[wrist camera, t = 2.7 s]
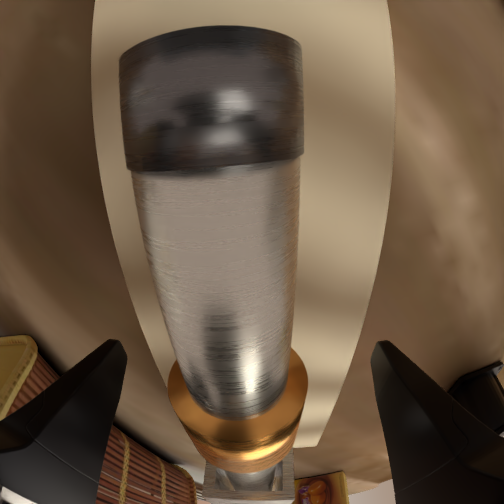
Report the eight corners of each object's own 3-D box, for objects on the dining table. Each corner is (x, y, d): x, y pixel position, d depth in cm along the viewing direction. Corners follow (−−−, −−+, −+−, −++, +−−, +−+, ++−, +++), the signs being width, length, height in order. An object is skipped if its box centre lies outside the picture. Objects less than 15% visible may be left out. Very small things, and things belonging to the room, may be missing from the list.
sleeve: (281, 444, 18) (282, 514, 12) (231, 444, 18) (225, 513, 12) (289, 389, 13) (294, 499, 8) (216, 388, 14) (201, 496, 8)
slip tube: (278, 471, 15) (278, 510, 12) (231, 470, 15) (228, 509, 12) (311, 71, 4) (379, 18, 1) (145, 83, 5) (29, 70, 2)
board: (315, 436, 19) (316, 446, 18) (199, 435, 19) (197, 445, 18) (356, -73, 3) (362, -84, 2) (118, -57, 4) (109, -65, 3)
